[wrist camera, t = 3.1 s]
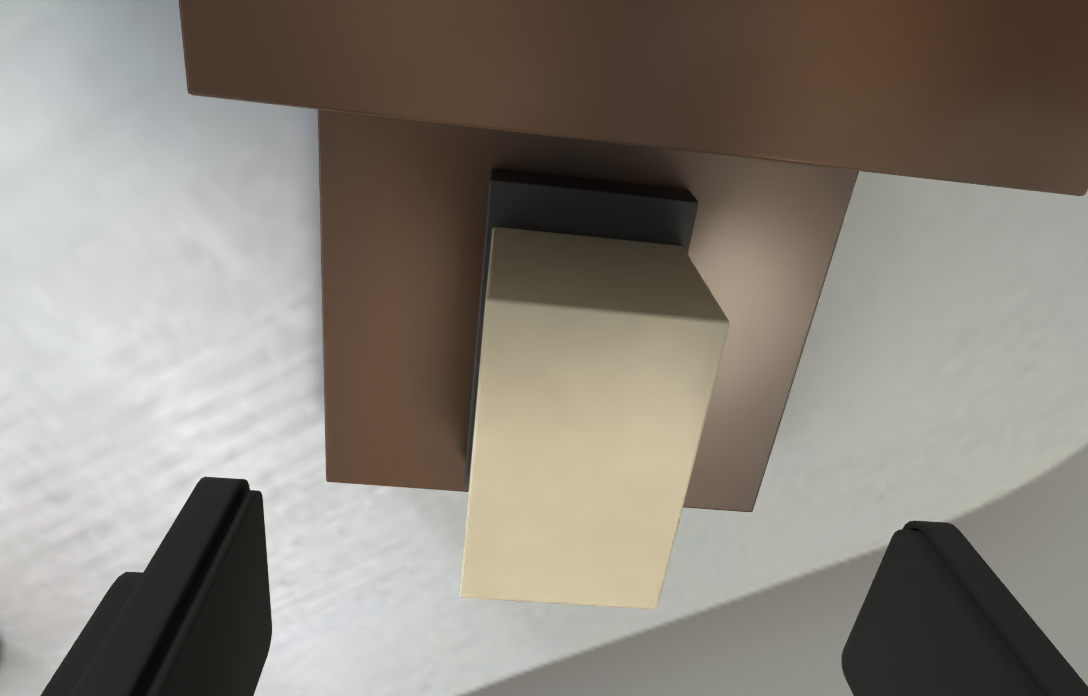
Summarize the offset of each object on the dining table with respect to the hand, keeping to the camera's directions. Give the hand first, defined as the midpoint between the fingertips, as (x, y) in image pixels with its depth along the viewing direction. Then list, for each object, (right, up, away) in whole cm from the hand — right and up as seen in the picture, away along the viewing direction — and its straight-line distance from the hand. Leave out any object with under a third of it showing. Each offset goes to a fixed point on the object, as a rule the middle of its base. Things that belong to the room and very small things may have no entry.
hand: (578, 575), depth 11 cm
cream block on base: (0, +4, +7) cm, 8 cm away
